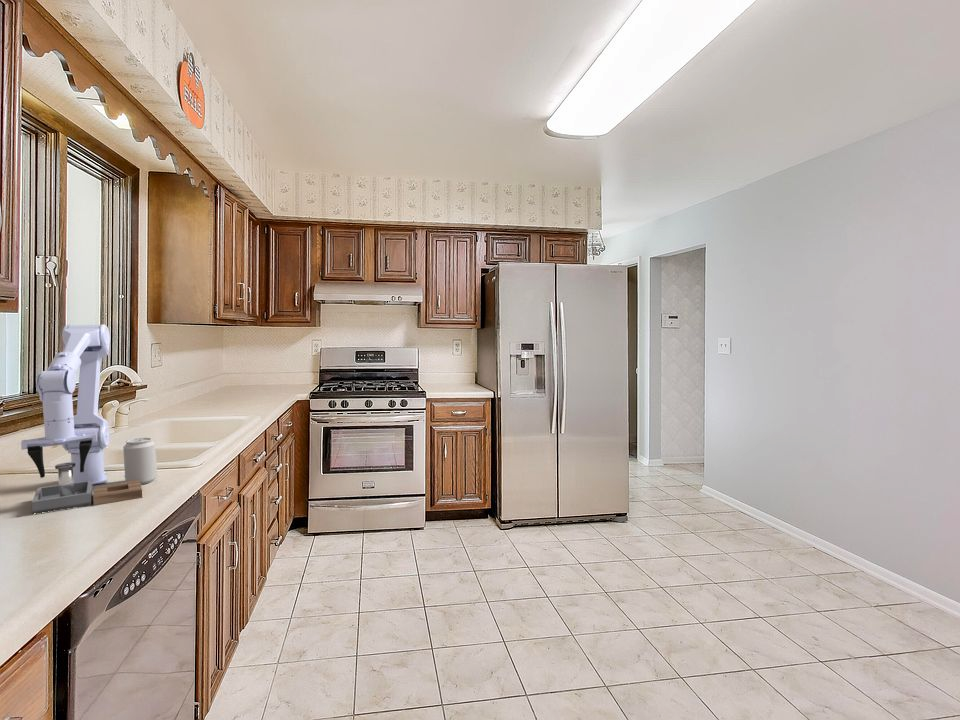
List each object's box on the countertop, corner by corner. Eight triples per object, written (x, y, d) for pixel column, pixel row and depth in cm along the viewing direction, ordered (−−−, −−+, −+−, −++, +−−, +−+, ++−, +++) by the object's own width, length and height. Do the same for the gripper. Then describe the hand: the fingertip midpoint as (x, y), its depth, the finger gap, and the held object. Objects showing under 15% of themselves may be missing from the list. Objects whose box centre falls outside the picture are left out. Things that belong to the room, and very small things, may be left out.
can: (121, 487, 145) (118, 443, 144) (131, 479, 152) (128, 437, 151) (152, 484, 147) (150, 441, 146) (160, 476, 154) (158, 435, 153)
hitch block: (94, 494, 138) (94, 486, 138) (140, 487, 144) (140, 480, 144) (93, 505, 130) (93, 497, 130) (142, 497, 136) (141, 489, 136)
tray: (38, 499, 135) (37, 487, 135) (92, 491, 141) (91, 480, 141) (32, 514, 124) (31, 502, 124) (91, 505, 130) (90, 493, 130)
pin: (57, 498, 133) (55, 464, 133) (77, 495, 136) (75, 461, 135) (56, 502, 130) (54, 467, 129) (77, 499, 132) (75, 465, 132)
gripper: (17, 425, 124) (22, 483, 125) (95, 418, 132) (98, 472, 133) (21, 420, 129) (25, 475, 130) (95, 414, 138) (99, 466, 139)
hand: (62, 473), depth 132 cm, fingers open, 7 cm apart
